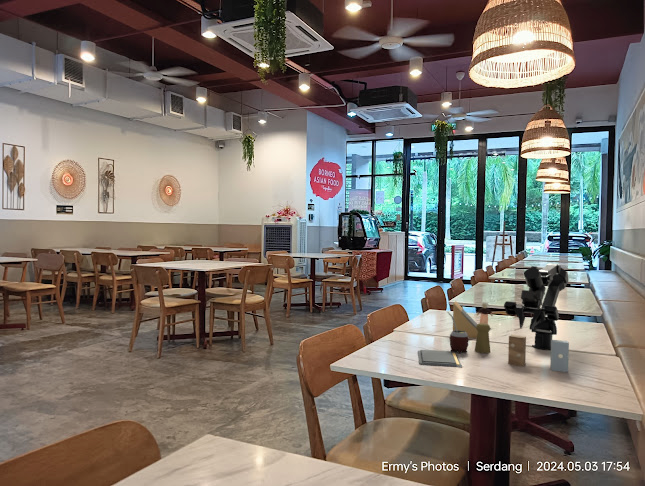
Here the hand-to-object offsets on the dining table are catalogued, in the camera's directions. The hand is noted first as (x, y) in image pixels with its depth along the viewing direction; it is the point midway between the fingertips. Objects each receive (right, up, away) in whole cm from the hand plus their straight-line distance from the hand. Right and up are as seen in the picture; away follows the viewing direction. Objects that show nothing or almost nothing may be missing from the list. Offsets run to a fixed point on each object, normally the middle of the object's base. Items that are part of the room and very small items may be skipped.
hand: (525, 328), depth 175 cm
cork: (-12, -11, +12) cm, 20 cm away
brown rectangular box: (-6, -12, -6) cm, 14 cm away
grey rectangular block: (+6, -12, -13) cm, 19 cm away
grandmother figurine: (+6, -10, +63) cm, 64 cm away
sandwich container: (-7, -11, +41) cm, 43 cm away
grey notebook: (-32, -12, -1) cm, 35 cm away
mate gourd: (-22, -11, +10) cm, 27 cm away
